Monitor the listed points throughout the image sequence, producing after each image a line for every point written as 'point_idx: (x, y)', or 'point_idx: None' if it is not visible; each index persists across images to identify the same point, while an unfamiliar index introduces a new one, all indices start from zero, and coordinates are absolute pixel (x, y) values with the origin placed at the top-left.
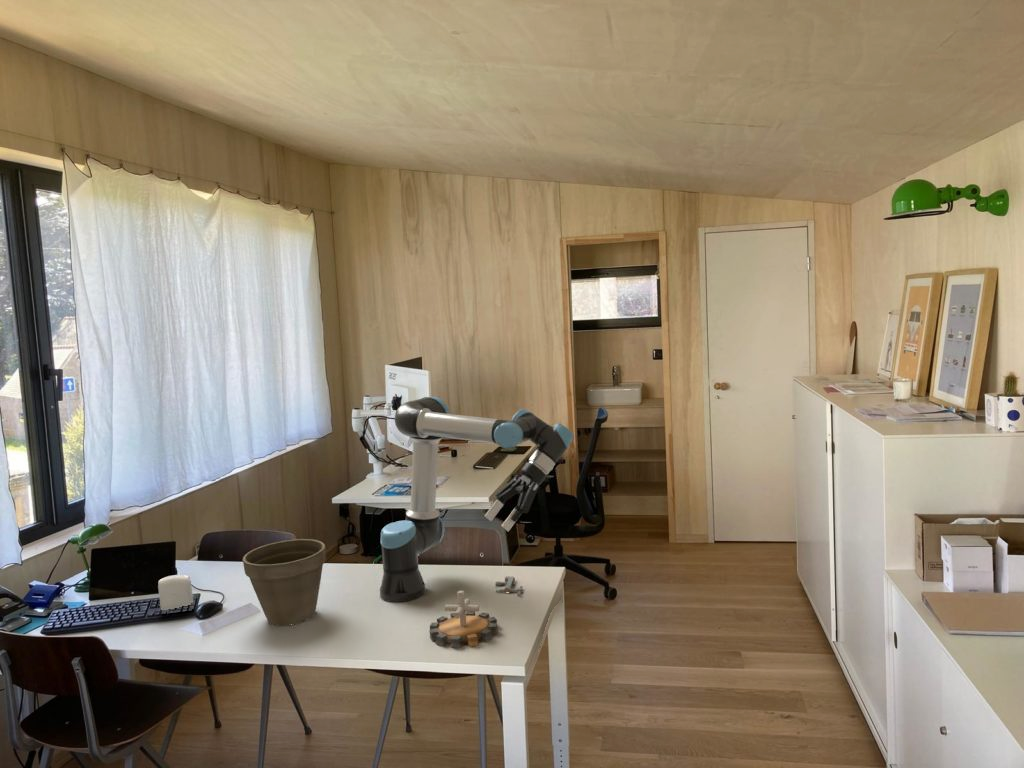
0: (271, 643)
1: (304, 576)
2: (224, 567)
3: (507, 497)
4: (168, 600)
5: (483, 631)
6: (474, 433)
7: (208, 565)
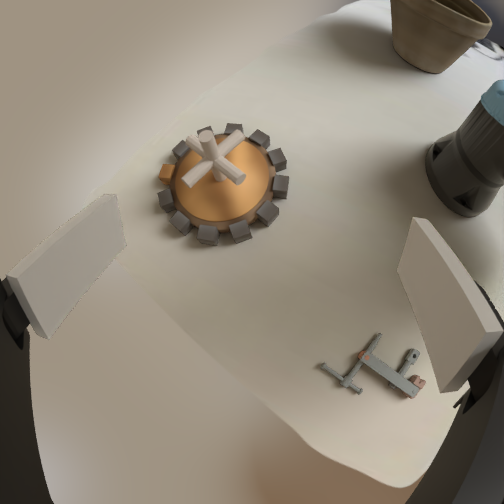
0: (349, 24)
1: (399, 3)
2: None
3: (445, 455)
4: None
5: (166, 193)
6: None
7: None
